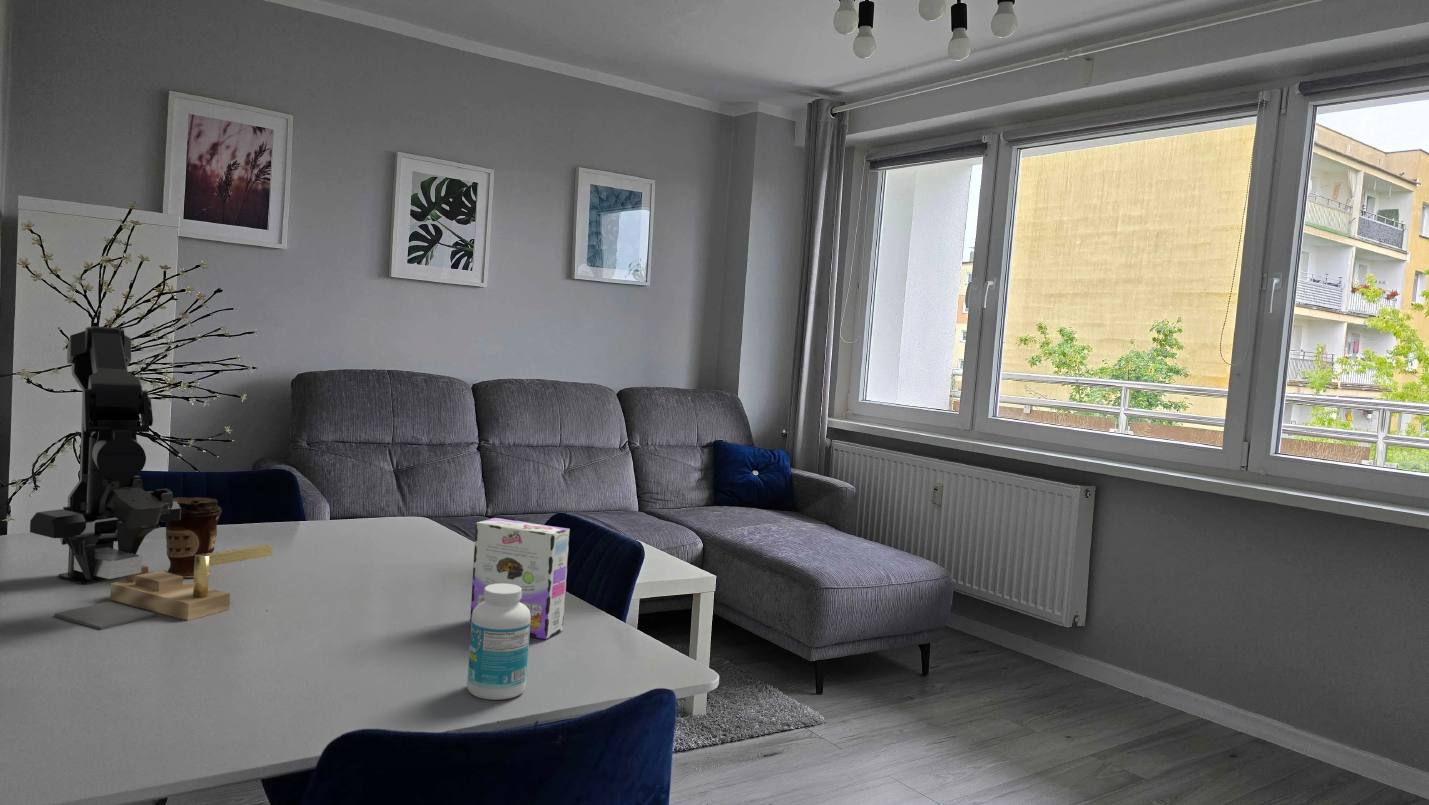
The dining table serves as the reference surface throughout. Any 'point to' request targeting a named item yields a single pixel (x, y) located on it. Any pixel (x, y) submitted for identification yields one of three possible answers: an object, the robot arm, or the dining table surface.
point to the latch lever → (222, 558)
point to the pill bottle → (499, 644)
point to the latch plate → (167, 595)
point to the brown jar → (191, 533)
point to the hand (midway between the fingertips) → (107, 575)
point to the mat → (104, 615)
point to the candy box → (524, 568)
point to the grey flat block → (114, 563)
